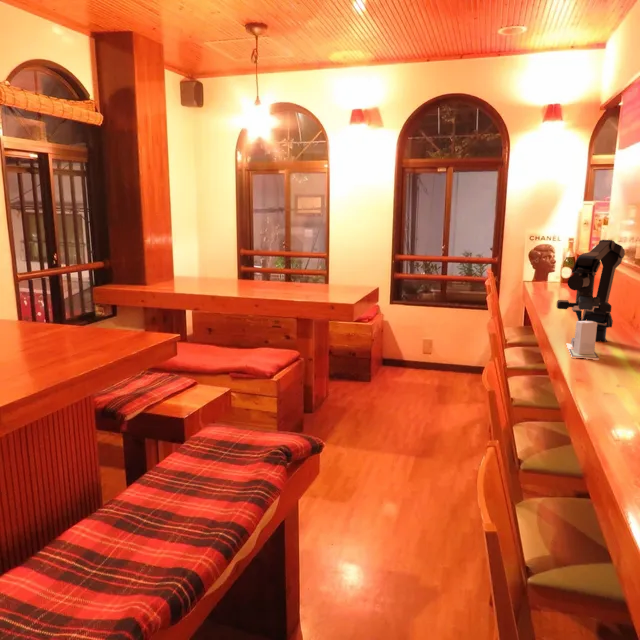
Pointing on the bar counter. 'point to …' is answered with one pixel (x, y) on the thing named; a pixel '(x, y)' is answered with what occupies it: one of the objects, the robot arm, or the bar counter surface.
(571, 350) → the picture board
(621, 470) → the bar counter surface
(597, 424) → the bar counter surface
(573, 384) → the bar counter surface
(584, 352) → the skincare box
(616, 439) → the bar counter surface
